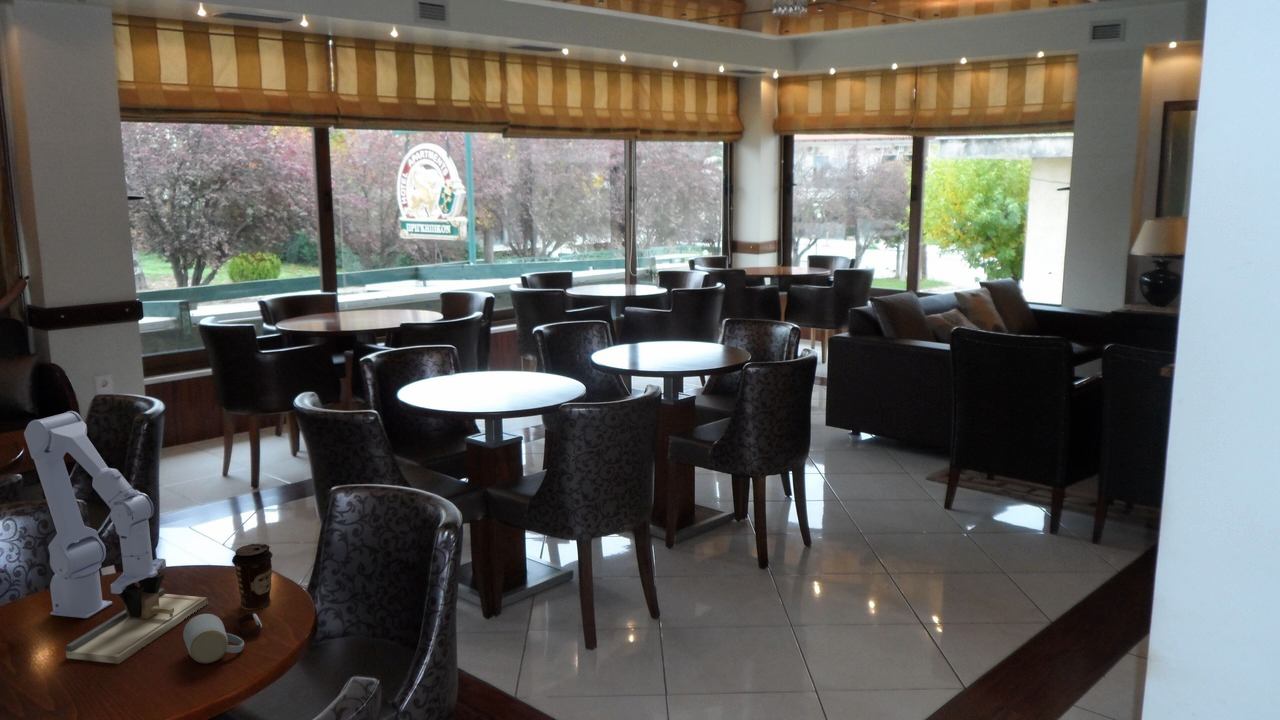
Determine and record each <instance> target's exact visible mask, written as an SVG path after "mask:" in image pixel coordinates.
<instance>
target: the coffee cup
mask: <svg viewBox="0 0 1280 720" xmlns="http://www.w3.org/2000/svg"><path fill="white" fill-rule="evenodd" d="M270 547H271V546H270V545H267V543H266V544H265V543H264V544H263V543H250V544H247V545H243V546H241V547H239V548H237V549H236V550H235V553H234V554H235V555H233V557H232V560H231V562H232V564H233V566H234V567H235V574H236V576H237V578H236V579H237V581H238V590H239V592H238V593H239V594H240V607H241V608H243V610H249V611H250V610H257V609H261V608H264V607H266V606H269V604H271V602H272V600H271V597H270V595H271V591H272V575H273V565H272V558H273V554H274V553H272V551H270Z"/></svg>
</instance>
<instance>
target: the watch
mask: <svg viewBox="0 0 1280 720" xmlns="http://www.w3.org/2000/svg"><path fill="white" fill-rule="evenodd" d="M249 621H253V622H254V623H255V624H256V625H257V626H256V627H254V628H251V629H246V630H245V629H242V625H244V624H245V623H247V622H249ZM236 627H237V630H238V632H239V634H240V635H242V636H244V637H248V638H249V637H254V636H257V635H259V633H261V632H262V627H263V625H262V622H261V619H260V618H259V617H258V615H257V613H253V614H252V613H246V614H244V615H242V616H240V617H239V618H238V620H237V622H236Z"/></svg>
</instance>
